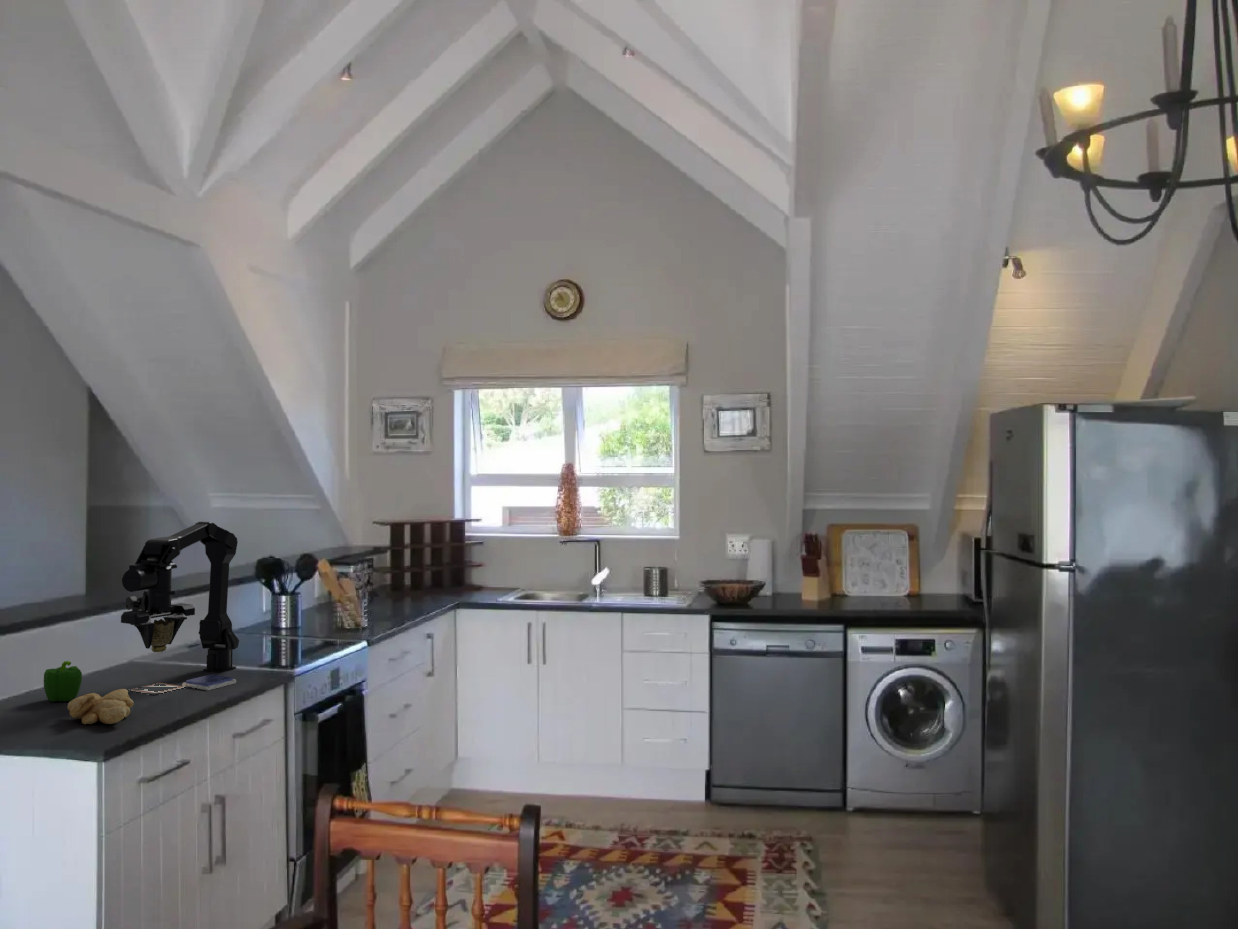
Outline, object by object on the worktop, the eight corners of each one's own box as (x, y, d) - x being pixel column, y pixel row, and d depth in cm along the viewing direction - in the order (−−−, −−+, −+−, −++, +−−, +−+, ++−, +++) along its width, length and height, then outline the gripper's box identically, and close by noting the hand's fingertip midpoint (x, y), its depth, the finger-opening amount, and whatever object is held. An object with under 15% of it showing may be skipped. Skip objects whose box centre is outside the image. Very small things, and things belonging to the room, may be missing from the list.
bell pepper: (40, 699, 239) (40, 659, 239) (77, 694, 244) (78, 655, 244) (46, 706, 232) (47, 665, 232) (84, 701, 238) (85, 661, 238)
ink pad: (211, 679, 263) (211, 673, 263) (236, 683, 260) (236, 677, 260) (182, 686, 255) (182, 680, 255) (207, 690, 251) (207, 684, 251)
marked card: (159, 683, 257) (159, 682, 257) (186, 687, 253) (186, 686, 253) (127, 691, 249) (127, 689, 249) (155, 695, 245) (155, 694, 245)
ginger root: (78, 706, 228) (86, 673, 228) (144, 721, 229) (152, 689, 229) (43, 726, 213) (52, 691, 213) (114, 743, 214) (123, 708, 214)
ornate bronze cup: (166, 647, 256) (166, 617, 256) (179, 651, 252) (179, 621, 252) (138, 651, 251) (138, 621, 250) (151, 655, 246) (151, 624, 246)
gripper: (167, 581, 263) (166, 637, 263) (106, 589, 246) (105, 649, 246) (196, 584, 258) (195, 641, 258) (136, 592, 241) (135, 653, 241)
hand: (158, 646), depth 251 cm, fingers closed on ornate bronze cup, 6 cm apart
